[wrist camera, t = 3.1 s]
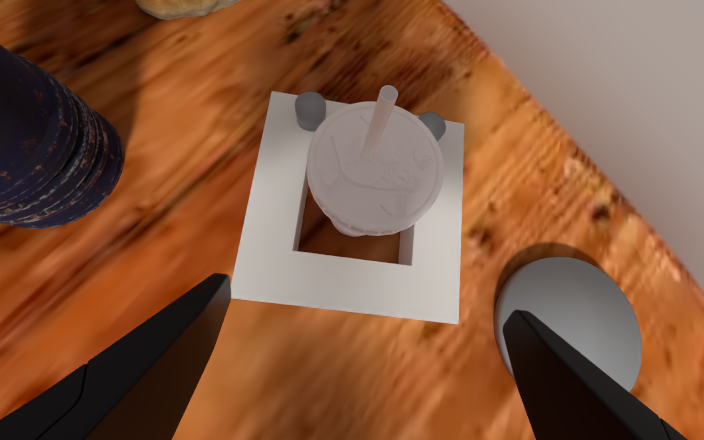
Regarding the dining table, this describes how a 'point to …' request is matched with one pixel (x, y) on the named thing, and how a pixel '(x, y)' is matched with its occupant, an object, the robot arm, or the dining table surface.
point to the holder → (340, 272)
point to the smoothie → (374, 167)
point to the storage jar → (51, 149)
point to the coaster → (575, 313)
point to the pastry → (182, 7)
